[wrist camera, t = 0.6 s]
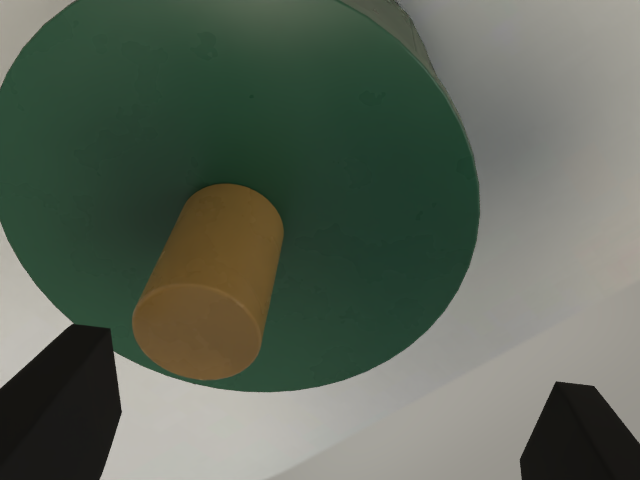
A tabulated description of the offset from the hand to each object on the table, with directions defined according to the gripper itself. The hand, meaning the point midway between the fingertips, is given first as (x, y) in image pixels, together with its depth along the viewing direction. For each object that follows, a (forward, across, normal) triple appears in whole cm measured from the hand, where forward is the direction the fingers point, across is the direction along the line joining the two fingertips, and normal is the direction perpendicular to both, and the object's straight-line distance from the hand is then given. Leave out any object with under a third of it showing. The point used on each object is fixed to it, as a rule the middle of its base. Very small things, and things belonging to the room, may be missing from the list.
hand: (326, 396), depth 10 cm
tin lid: (+5, +2, 0) cm, 6 cm away
